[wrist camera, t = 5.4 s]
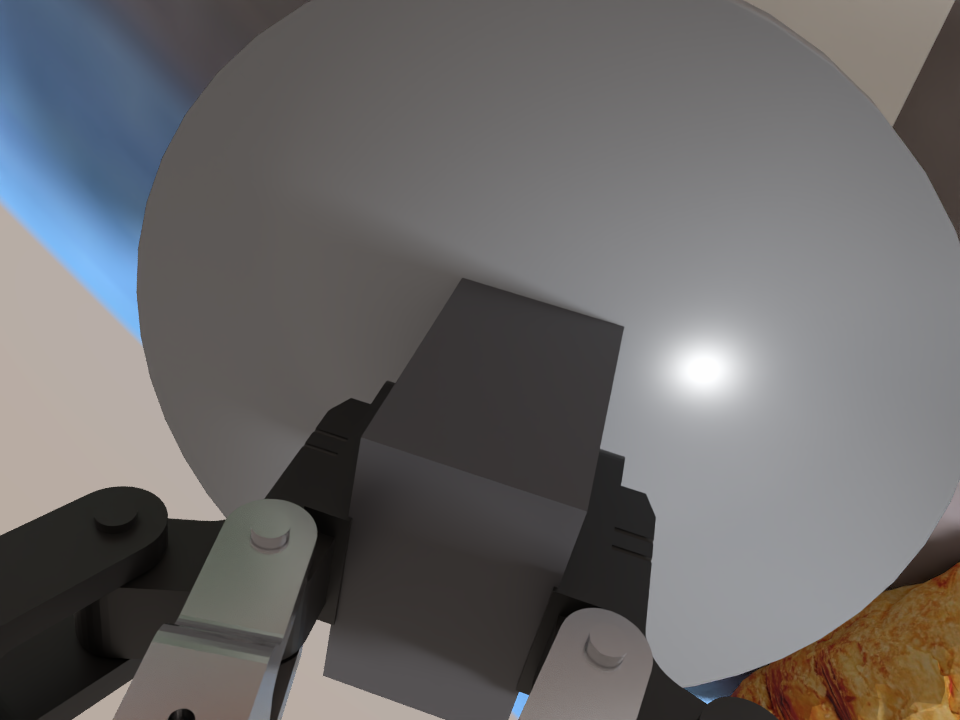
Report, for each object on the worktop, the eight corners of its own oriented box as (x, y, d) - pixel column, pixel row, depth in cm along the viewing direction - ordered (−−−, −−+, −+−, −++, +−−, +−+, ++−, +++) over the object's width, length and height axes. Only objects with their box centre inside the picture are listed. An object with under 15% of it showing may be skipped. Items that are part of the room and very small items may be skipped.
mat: (953, -10, 22) (958, -8, 21) (732, 440, 31) (733, 450, 30) (395, -153, 23) (388, -154, 23) (335, 317, 32) (329, 324, 31)
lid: (1183, 99, 12) (1561, 274, 6) (755, 733, 20) (769, 1026, 15) (167, -163, 13) (-187, -192, 8) (171, 530, 22) (2, 732, 17)
